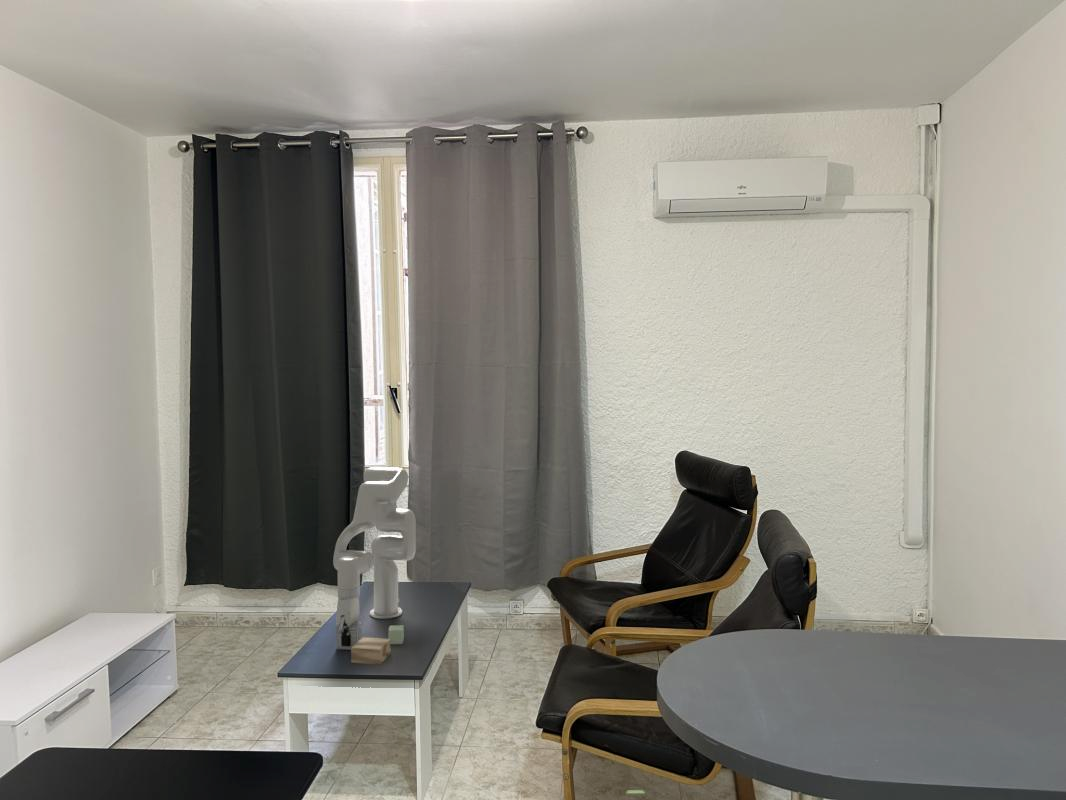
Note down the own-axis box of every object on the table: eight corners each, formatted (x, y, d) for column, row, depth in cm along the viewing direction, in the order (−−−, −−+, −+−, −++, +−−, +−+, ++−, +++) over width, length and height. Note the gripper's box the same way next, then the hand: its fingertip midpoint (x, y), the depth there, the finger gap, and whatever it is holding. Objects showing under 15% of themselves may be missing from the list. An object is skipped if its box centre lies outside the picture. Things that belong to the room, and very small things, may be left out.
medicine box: (362, 645, 264) (362, 621, 264) (357, 650, 260) (357, 626, 259) (340, 644, 265) (340, 620, 265) (335, 649, 261) (335, 625, 260)
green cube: (389, 639, 271) (389, 625, 271) (403, 638, 272) (403, 625, 271) (388, 644, 266) (388, 630, 266) (402, 643, 267) (402, 630, 266)
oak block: (363, 651, 259) (363, 637, 259) (390, 653, 258) (390, 639, 258) (351, 662, 250) (351, 647, 249) (379, 664, 248) (379, 650, 248)
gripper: (348, 584, 270) (349, 633, 271) (328, 598, 254) (328, 651, 255) (368, 585, 269) (368, 635, 270) (349, 600, 253) (349, 653, 253)
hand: (349, 642), depth 262 cm, fingers closed on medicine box, 4 cm apart
